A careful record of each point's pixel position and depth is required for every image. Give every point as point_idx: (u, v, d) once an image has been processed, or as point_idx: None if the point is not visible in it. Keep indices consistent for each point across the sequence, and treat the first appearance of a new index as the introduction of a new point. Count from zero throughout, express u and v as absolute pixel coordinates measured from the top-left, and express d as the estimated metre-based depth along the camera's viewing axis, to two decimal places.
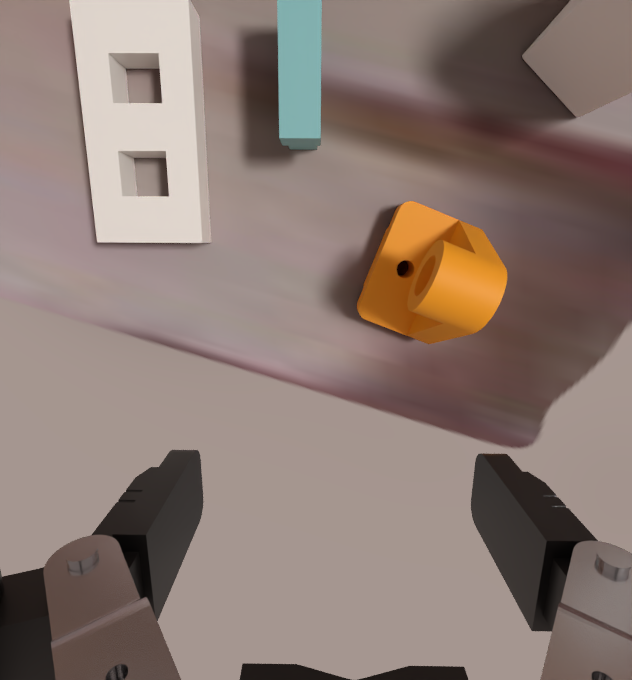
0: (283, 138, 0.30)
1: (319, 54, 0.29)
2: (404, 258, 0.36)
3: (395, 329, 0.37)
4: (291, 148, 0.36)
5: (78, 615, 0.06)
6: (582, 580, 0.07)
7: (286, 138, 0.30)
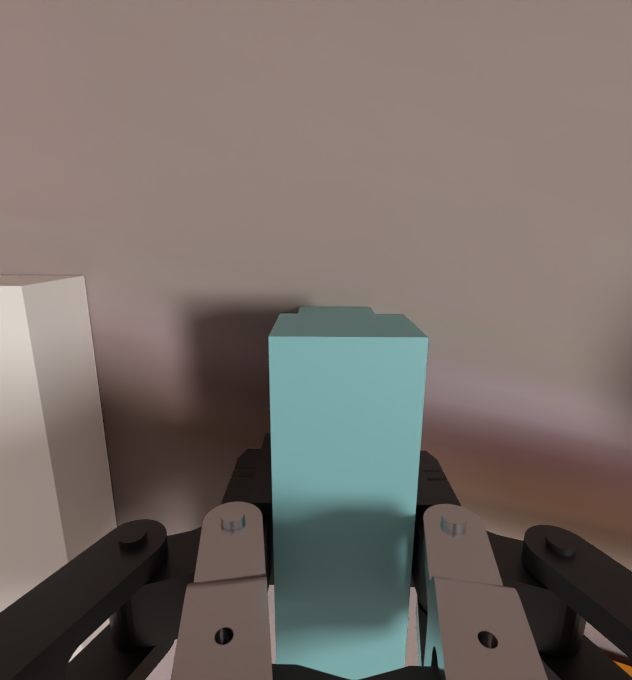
0: None
1: (407, 545, 0.09)
2: None
3: None
4: None
5: (252, 564, 0.07)
6: (438, 545, 0.08)
7: None
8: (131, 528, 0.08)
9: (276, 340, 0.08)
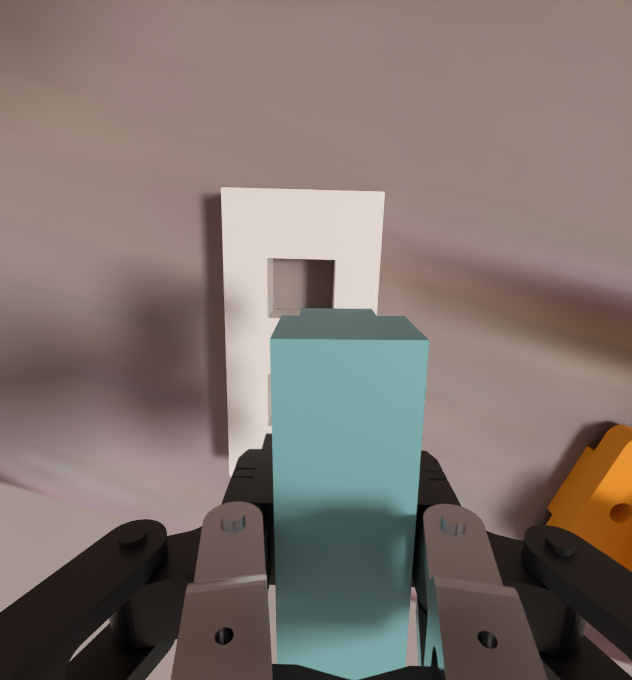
0: None
1: (408, 547, 0.09)
2: (622, 501, 0.28)
3: None
4: None
5: (252, 564, 0.07)
6: (438, 545, 0.08)
7: None
8: (131, 528, 0.08)
9: (277, 343, 0.08)
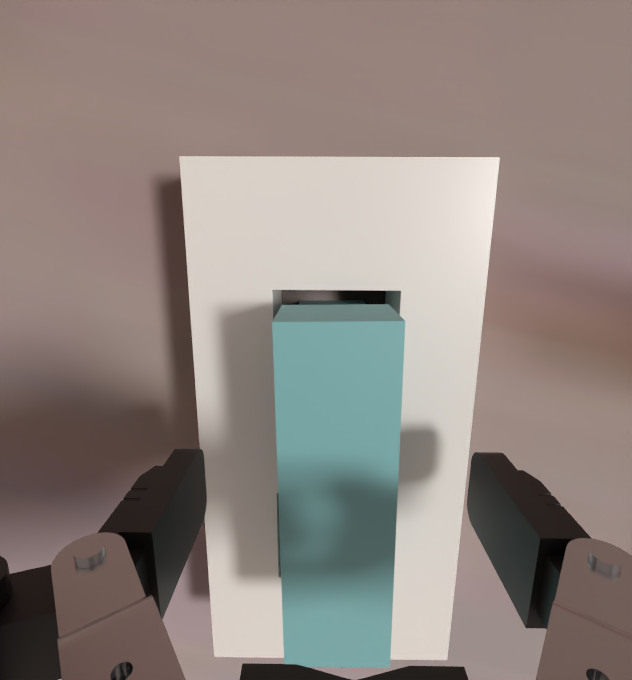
0: None
1: (392, 500, 0.10)
2: None
3: None
4: None
5: (86, 611, 0.06)
6: (575, 578, 0.07)
7: None
8: None
9: (278, 325, 0.09)
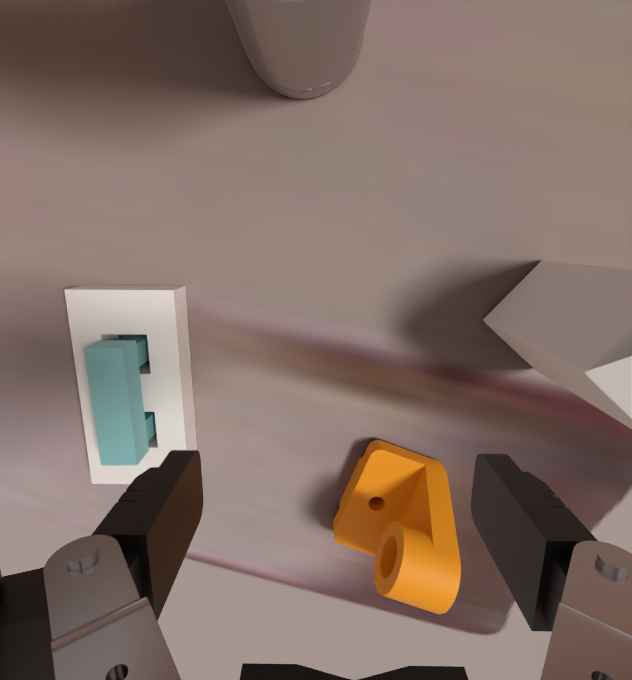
0: None
1: (128, 404, 0.33)
2: (375, 495, 0.39)
3: (368, 551, 0.40)
4: None
5: (78, 615, 0.06)
6: (582, 580, 0.07)
7: None
8: None
9: (85, 349, 0.32)
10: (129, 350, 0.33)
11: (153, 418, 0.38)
